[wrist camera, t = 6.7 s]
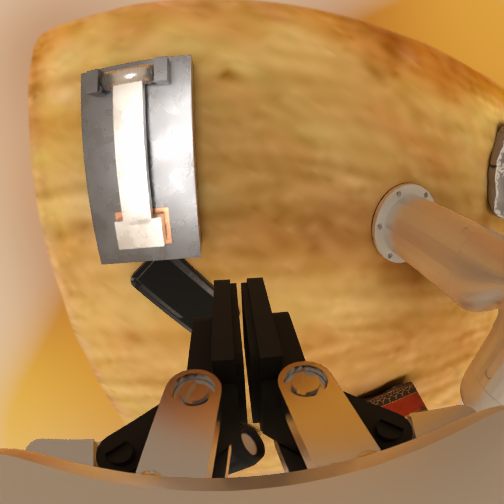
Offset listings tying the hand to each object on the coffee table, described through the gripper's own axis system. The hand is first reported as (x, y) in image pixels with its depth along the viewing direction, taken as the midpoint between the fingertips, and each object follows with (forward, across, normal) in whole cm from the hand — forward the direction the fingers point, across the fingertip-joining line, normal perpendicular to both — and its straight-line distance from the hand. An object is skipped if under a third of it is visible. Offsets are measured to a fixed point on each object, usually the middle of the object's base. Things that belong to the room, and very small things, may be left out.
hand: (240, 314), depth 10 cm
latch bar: (+20, +9, -5) cm, 23 cm away
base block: (+26, +10, -4) cm, 28 cm away
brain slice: (+29, -55, -5) cm, 63 cm away
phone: (+26, +7, +15) cm, 31 cm away
